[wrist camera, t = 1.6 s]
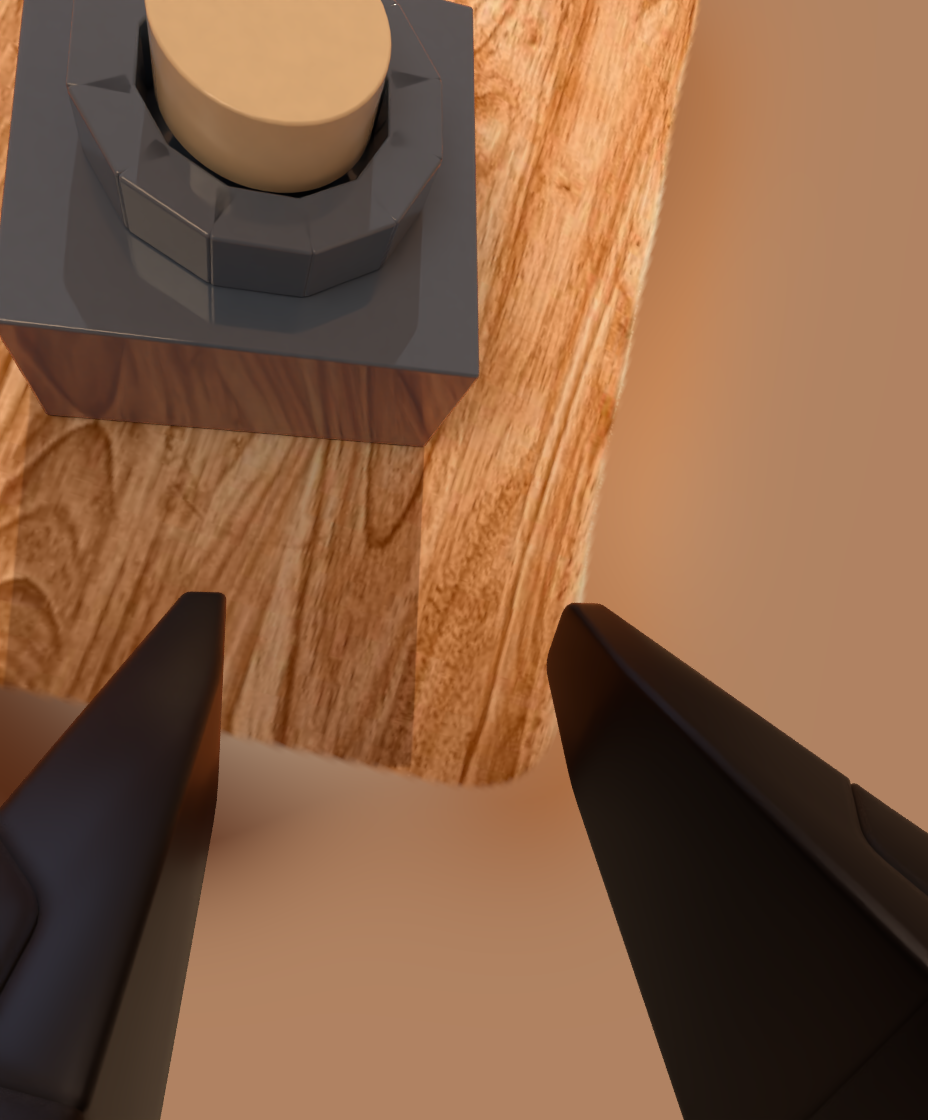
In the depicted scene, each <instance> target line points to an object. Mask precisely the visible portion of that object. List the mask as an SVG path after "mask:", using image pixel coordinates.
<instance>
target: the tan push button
mask: <svg viewBox="0 0 928 1120" xmlns="http://www.w3.org/2000/svg"><path fill="white" fill-rule="evenodd" d="M144 4H145V13H146V22H147V31H148V40H149V50H150V59H151V68H152V77H153V86H154V92H155V97H156V100H157V104H158V107H159V110H160V112H161V114H162V116H163V118H164V120H165V122H166V124H167V126H168V127H169V129H170V130H171V132H172V134H173V135H174V136H175V138H176V139H177V140H178V141H179V142H180V144H181V145H182V146H183V147H184V149H186V150H187V151H188V152H189V153H190V154H191V155H192V156H193V157H194V158H195V159H196V160H197V161H199V162H200V163H201V164H203V165H204V166H205V167H207V168H208V169H209V170H211V171H213V172H214V173H216V174H218V175H219V176H221V177H223V178H225V179H227V180H229V181H232V182H234V183H236V184H239V185H242V186H245V187H248V188H251V189H255V190H260V191H264V192H273V193H297V192H306V191H310V190H314V189H317V188H320V187H323V186H325V185H328V184H330V183H332V182H334V181H335V180H337V179H339V178H340V177H342V176H343V175H344V174H346V173H347V172H348V171H349V170H350V169H352V167H353V166H354V165H355V164H356V163H357V162H358V161H359V159H360V158H361V156H362V155H363V153H364V151H365V150H366V147H367V145H368V143H369V140H370V137H371V133H372V129H373V125H374V121H375V118H376V114H377V110H378V106H379V102H380V99H381V95H382V91H383V87H384V83H385V79H386V76H387V72H388V68H389V64H390V60H391V48H392V43H391V32H390V27H389V22H388V18H387V15H386V12H385V9H384V6H383V4H382V1H381V0H144Z"/></svg>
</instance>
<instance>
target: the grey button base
mask: <svg viewBox="0 0 928 1120" xmlns="http://www.w3.org/2000/svg"><path fill="white" fill-rule="evenodd" d="M381 1H382V4H383V6H384V9H385V12H386V15H387V18H388V22H389V27H390V32H391V43H392V48H391V60H390V64H389V68H388V72H387V76H386V79H385V83H384V87H383V91H382V95H381V99H380V102H379V106H378V110H377V114H376V118H375V121H374V125H373V129H372V133H371V137H370V140H369V143H368V145H367V147H366V150H365V151H364V153H363V155H362V156H361V158H360V159H359V161H358V162H357V163H356V164H355V165H354V166H353V167H352V169H350V170H349V171H348V172H347V173H346V174H344V175H343V176H342V177H340V178H339V179H337V180H335V181H334V182H332V183H330V184H328V185H325V186H323V187H320V188H317V189H314V190H310V191H306V192H297V193H273V192H264V191H260V190H255V189H251V188H248V187H245V186H242V185H239V184H236V183H234V182H232V181H229V180H227V179H225V178H223V177H221V176H219V175H218V174H216V173H214V172H213V171H211V170H209V169H208V168H207V167H205V166H204V165H203V164H201V163H200V162H199V161H197V160H196V159H195V158H194V157H193V156H192V155H191V154H190V153H189V152H188V151H187V150H186V149H184V147H183V146H182V145H181V144H180V142H179V141H178V140H177V139H176V138H175V136H174V135H173V134H172V132H171V130H170V129H169V127H168V126H167V124H166V122H165V120H164V118H163V116H162V114H161V112H160V110H159V107H158V104H157V100H156V97H155V92H154V86H153V77H152V68H151V59H150V50H149V40H148V31H147V22H146V13H145V4H144V0H23V8H22V18H21V27H20V37H19V46H18V56H17V65H16V75H15V85H14V94H13V104H12V113H11V123H10V132H9V142H8V151H7V161H6V170H5V180H4V189H3V199H2V209H1V218H0V338H1V339H2V341H3V343H4V344H5V346H6V348H7V349H8V351H9V353H10V354H11V356H12V358H13V360H14V361H15V363H16V365H17V366H18V368H19V370H20V371H21V373H22V375H23V376H24V378H25V380H26V381H27V383H28V385H29V386H30V388H31V390H32V391H33V393H34V395H35V396H36V398H37V400H38V401H39V403H40V405H41V406H42V408H43V410H44V411H45V413H46V414H48V415H59V416H71V417H82V418H94V419H106V420H117V421H129V422H141V423H152V424H164V425H176V426H187V427H199V428H211V429H222V430H234V431H246V432H257V433H269V434H281V435H292V436H304V437H316V438H327V439H339V440H351V441H362V442H374V443H386V444H397V445H409V446H421V447H423V446H425V445H426V444H427V443H428V441H429V440H430V439H431V438H432V436H433V435H434V434H435V432H436V431H437V430H438V429H439V427H440V426H441V425H442V423H443V422H444V421H445V420H446V418H447V417H448V416H449V415H450V413H451V412H452V411H453V409H454V408H455V407H456V406H457V404H458V403H459V402H460V400H461V399H462V398H463V397H464V395H465V394H466V393H467V392H468V390H469V389H470V388H471V386H472V385H473V384H474V383H475V381H476V380H477V379H478V377H479V329H478V271H477V213H476V155H475V97H474V38H473V9H472V8H471V7H469V6H466V5H462V4H458V3H454V2H450V1H446V0H381Z"/></svg>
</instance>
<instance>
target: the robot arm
mask: <svg viewBox="0 0 928 1120" xmlns="http://www.w3.org/2000/svg"><path fill="white" fill-rule="evenodd" d="M225 618H226V597H225V595H224V594H222V593H219V592H186V593H184V594H183V595H182V596H181V597H180V598H179V599H178V600H177V601H176V603H175V604H174V605H173V606H172V607H171V608H170V610H169V611H168V612H167V613H166V614H165V615H164V617H163V618H162V619H161V620H160V621H159V622H158V624H157V625H156V626H155V627H154V628H153V629H152V631H151V632H150V633H149V634H148V635H147V636H146V638H145V639H144V640H143V641H142V642H141V643H140V645H139V646H138V647H137V648H136V649H135V650H134V652H133V653H132V654H131V655H130V656H129V657H128V659H127V660H126V661H125V662H124V663H123V664H122V666H121V667H120V668H119V669H118V670H117V671H116V673H115V674H114V675H113V676H112V677H111V679H110V680H109V681H108V682H107V683H106V684H105V686H104V687H103V688H102V689H101V690H100V691H99V693H98V694H97V695H96V696H95V697H94V698H93V700H92V701H91V702H90V703H89V704H88V705H87V707H86V708H85V709H84V710H83V711H82V712H81V714H80V715H79V716H78V717H77V718H76V719H75V721H74V722H73V723H72V724H71V725H70V726H69V728H68V729H67V730H66V731H65V732H64V733H63V735H62V736H61V737H60V738H59V739H58V741H57V742H56V743H55V744H54V745H53V746H52V747H51V749H50V750H49V751H48V752H47V753H46V755H45V756H44V757H43V758H42V759H41V760H40V761H39V763H38V764H37V765H36V766H35V767H34V769H33V770H32V771H31V772H30V773H29V774H28V776H27V777H26V778H25V779H24V780H23V781H22V783H21V784H20V785H19V786H18V787H17V788H16V790H15V791H14V792H13V793H12V794H11V795H10V797H9V798H8V799H7V800H6V801H5V802H4V804H3V805H2V806H1V807H0V1120H160V1117H161V1112H162V1106H163V1100H164V1095H165V1089H166V1083H167V1078H168V1073H169V1067H170V1061H171V1056H172V1050H173V1045H174V1039H175V1033H176V1028H177V1023H178V1017H179V1011H180V1005H181V1000H182V994H183V989H184V983H185V978H186V972H187V966H188V961H189V956H190V950H191V945H192V939H193V933H194V928H195V922H196V917H197V911H198V905H199V900H200V894H201V889H202V883H203V878H204V872H205V867H206V861H207V855H208V850H209V844H210V838H211V833H212V827H213V822H214V815H215V808H216V801H217V789H218V773H219V752H220V751H219V750H220V730H221V708H222V686H223V664H224V641H225ZM547 675H548V680H549V685H550V690H551V694H552V699H553V704H554V708H555V713H556V718H557V722H558V727H559V732H560V736H561V741H562V745H563V750H564V755H565V759H566V764H567V768H568V773H569V777H570V780H571V785H572V788H573V792H574V795H575V798H576V801H577V804H578V807H579V810H580V813H581V816H582V819H583V822H584V825H585V828H586V831H587V834H588V837H589V840H590V843H591V846H592V849H593V852H594V854H595V858H596V861H597V864H598V867H599V870H600V873H601V875H602V878H603V882H604V884H605V887H606V890H607V893H608V896H609V899H610V902H611V905H612V908H613V911H614V914H615V917H616V920H617V923H618V926H619V929H620V932H621V935H622V937H623V941H624V944H625V946H626V949H627V953H628V955H629V959H630V962H631V965H632V968H633V970H634V973H635V976H636V979H637V982H638V985H639V988H640V991H641V994H642V997H643V1000H644V1003H645V1006H646V1009H647V1012H648V1015H649V1018H650V1021H651V1024H652V1027H653V1030H654V1033H655V1036H656V1039H657V1042H658V1045H659V1048H660V1051H661V1053H662V1056H663V1059H664V1062H665V1065H666V1068H667V1071H668V1074H669V1077H670V1080H671V1083H672V1086H673V1089H674V1092H675V1095H676V1098H677V1101H678V1104H679V1107H680V1110H681V1113H682V1115H683V1119H684V1120H928V833H927V832H925V831H924V830H922V829H921V828H919V827H918V826H916V825H915V824H913V823H912V822H910V821H909V820H908V819H906V818H905V817H903V816H902V815H900V814H899V813H897V812H896V811H894V810H893V809H891V808H890V807H889V806H887V805H886V804H884V803H883V802H881V801H880V800H879V799H877V798H876V797H874V796H873V795H872V794H870V793H869V792H867V791H866V790H864V789H863V788H862V787H860V786H859V785H858V784H855V783H853V784H850V780H849V779H848V778H847V777H846V776H844V775H843V774H842V773H840V772H839V771H837V770H836V769H834V768H833V767H832V766H830V765H829V764H827V763H826V762H824V761H823V760H822V759H820V758H819V757H818V756H816V755H815V754H813V753H812V752H810V751H809V750H808V749H806V748H805V747H803V746H802V745H800V744H799V743H798V742H796V741H795V740H793V739H792V738H791V737H789V736H788V735H786V734H785V733H784V732H782V731H781V730H779V729H778V728H776V727H775V726H773V725H772V724H771V723H769V722H768V721H766V720H765V719H764V718H762V717H761V716H759V715H758V714H757V713H755V712H754V711H752V710H751V709H749V708H748V707H747V706H745V705H744V704H742V703H741V702H739V701H738V700H737V699H735V698H734V697H732V696H731V695H730V694H728V693H727V692H725V691H724V690H723V689H721V688H720V687H718V686H717V685H715V684H714V683H712V682H711V681H709V680H708V679H707V678H705V677H704V676H703V675H701V674H700V673H698V672H697V671H696V670H694V669H693V668H691V667H690V666H688V665H687V664H686V663H684V662H683V661H681V660H680V659H679V658H677V657H676V656H674V655H673V654H671V653H670V652H668V651H667V650H666V649H664V648H663V647H662V646H660V645H659V644H657V643H656V642H654V641H653V640H652V639H650V638H649V637H647V636H646V635H644V634H643V633H641V632H640V631H639V630H637V629H636V628H635V627H633V626H632V625H630V624H629V623H627V622H626V621H625V620H623V619H622V618H620V617H619V616H618V615H616V614H615V613H613V612H612V611H610V610H609V609H607V608H606V607H605V606H603V605H601V604H595V603H571V604H569V605H568V606H566V608H565V609H564V611H563V613H562V615H561V618H560V621H559V624H558V627H557V630H556V633H555V636H554V638H553V641H552V644H551V647H550V650H549V653H548V658H547Z"/></svg>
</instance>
